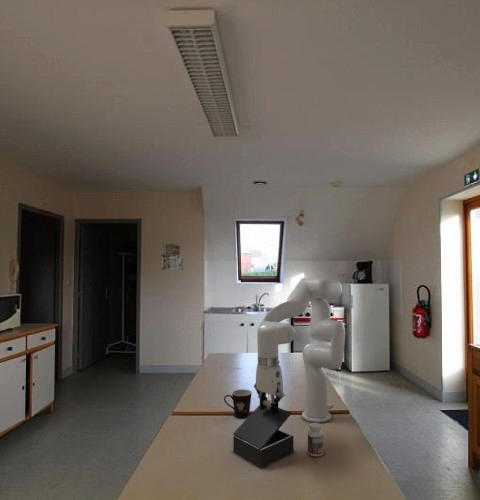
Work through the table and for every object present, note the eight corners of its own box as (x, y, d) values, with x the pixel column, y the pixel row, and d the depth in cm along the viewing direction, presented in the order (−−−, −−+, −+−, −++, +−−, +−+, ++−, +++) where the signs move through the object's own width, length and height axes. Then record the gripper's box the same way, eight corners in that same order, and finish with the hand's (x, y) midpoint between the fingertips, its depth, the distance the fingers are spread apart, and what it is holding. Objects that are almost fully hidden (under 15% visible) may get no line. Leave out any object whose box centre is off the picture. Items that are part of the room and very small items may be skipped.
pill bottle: (306, 449, 137) (306, 422, 137) (321, 449, 137) (320, 421, 137) (309, 457, 131) (309, 428, 132) (324, 456, 132) (324, 427, 132)
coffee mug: (255, 414, 169) (255, 391, 169) (244, 421, 162) (244, 397, 162) (234, 409, 175) (234, 387, 176) (222, 415, 168) (222, 392, 168)
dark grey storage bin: (265, 438, 145) (265, 423, 146) (293, 452, 135) (293, 435, 135) (233, 452, 135) (233, 435, 135) (261, 468, 124) (261, 450, 124)
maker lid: (263, 403, 145) (258, 392, 144) (291, 413, 135) (286, 403, 133) (233, 435, 135) (228, 424, 134) (261, 449, 125) (256, 438, 123)
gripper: (292, 363, 134) (293, 415, 134) (259, 354, 146) (260, 402, 146) (277, 367, 129) (278, 421, 129) (244, 358, 141) (245, 407, 141)
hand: (269, 410), depth 137 cm, fingers closed on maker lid, 5 cm apart
